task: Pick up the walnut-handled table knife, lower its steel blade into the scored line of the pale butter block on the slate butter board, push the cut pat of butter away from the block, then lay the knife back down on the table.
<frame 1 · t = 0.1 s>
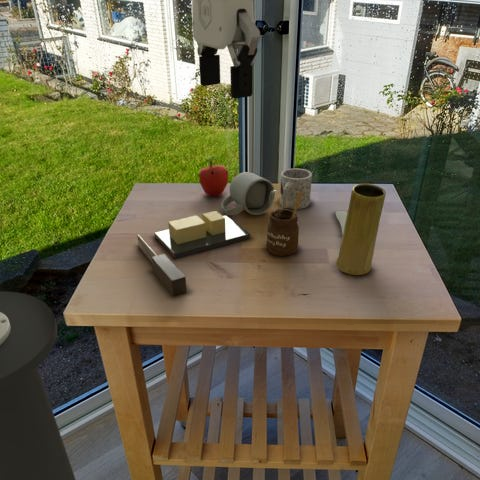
hand: (225, 90, 73), 29 cm above the table, tool pointing down, fingers open, 9 cm apart
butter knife: (346, 238, 97), on the table, touching vase
apple: (215, 195, 115), on the table
vase: (353, 267, 87), on the table, touching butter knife
mug: (291, 206, 110), on the table
utensil holder: (282, 250, 93), on the table
ceramic mug: (246, 211, 108), on the table
table knife: (169, 281, 84), on the table
butter board: (202, 237, 97), on the table
butter pat: (214, 230, 98), point 1 cm above the table, touching butter board
butter block: (188, 236, 96), resting on butter board
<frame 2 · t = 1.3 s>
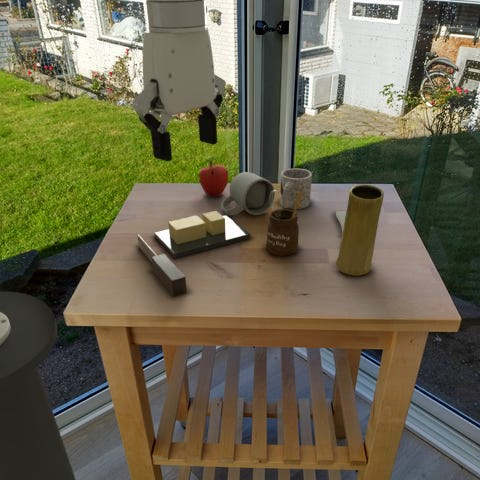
hand: (186, 150, 74), 21 cm above the table, tool pointing down, fingers open, 9 cm apart
nothing on the table moved.
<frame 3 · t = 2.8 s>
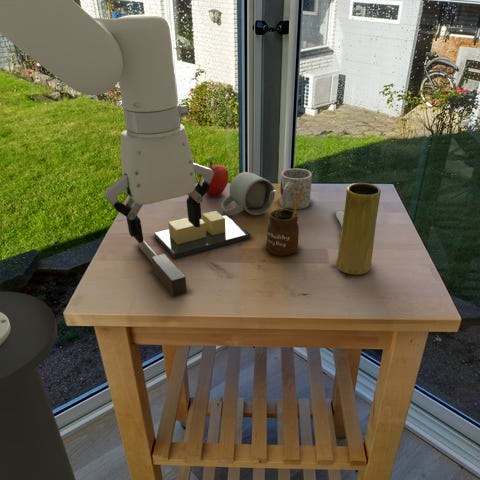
hand: (166, 231, 79), 9 cm above the table, tool pointing down, fingers open, 9 cm apart
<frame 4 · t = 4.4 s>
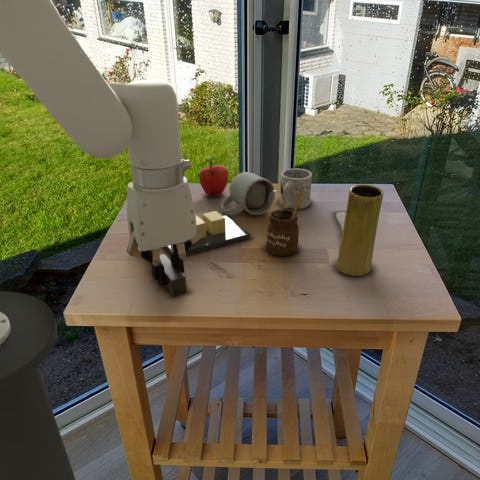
hand: (169, 279, 84), 1 cm above the table, tool pointing down, fingers closed on table knife, 2 cm apart
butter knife: (347, 240, 97), on the table
vase: (353, 268, 88), on the table
table knife: (169, 281, 84), on the table, touching gripper
everything else where it was.
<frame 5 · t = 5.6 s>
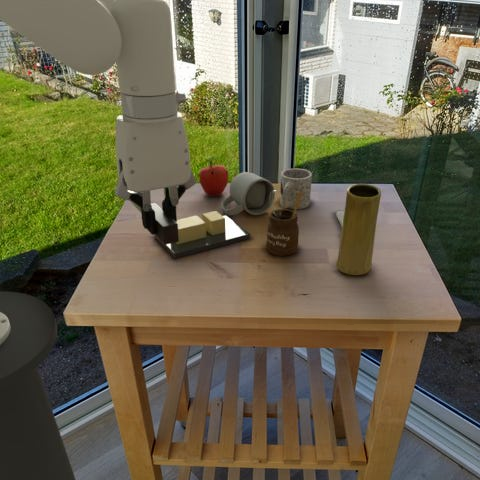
hand: (160, 228, 78), 10 cm above the table, tool pointing down, fingers closed on table knife, 2 cm apart
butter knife: (347, 238, 97), on the table, touching vase
vase: (353, 267, 87), on the table, touching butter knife
table knife: (160, 231, 78), point 9 cm above the table, touching gripper
everything else where it was.
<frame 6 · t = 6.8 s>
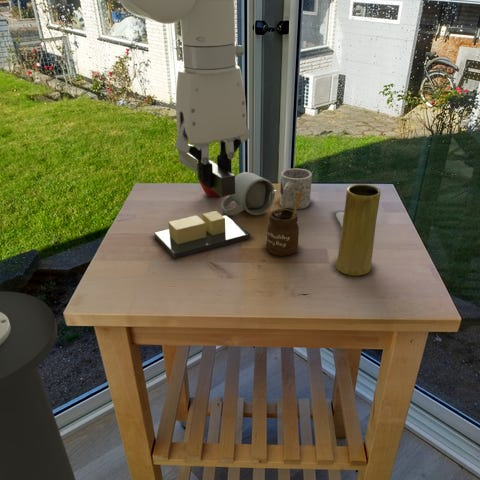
hand: (215, 182, 81), 15 cm above the table, tool pointing down, fingers closed on table knife, 2 cm apart
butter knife: (347, 239, 97), on the table
vase: (353, 268, 88), on the table
table knife: (216, 186, 81), point 14 cm above the table, touching gripper
everything else where it was.
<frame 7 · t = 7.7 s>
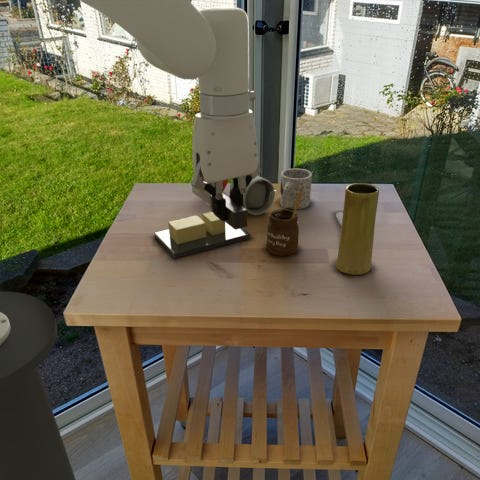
hand: (228, 215, 86), 8 cm above the table, tool pointing down, fingers closed on table knife, 2 cm apart
vase: (353, 268, 88), on the table
table knife: (228, 218, 86), point 8 cm above the table, touching gripper
everything else where it was.
when the fingers open (1 cm above the table, at t = 16.4 s): table knife stays where it is, on the table.
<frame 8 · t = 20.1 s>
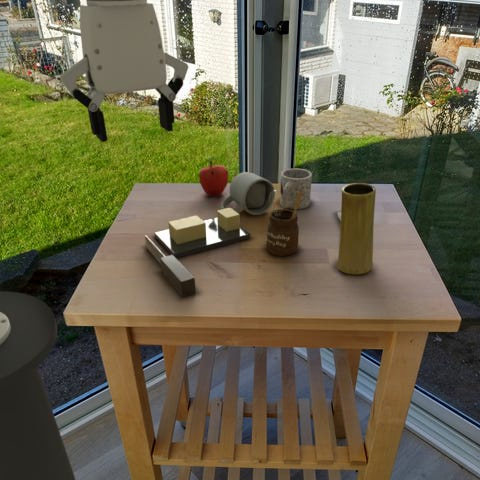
hand: (135, 134, 70), 24 cm above the table, tool pointing down, fingers open, 9 cm apart
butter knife: (349, 239, 97), on the table, touching vase
vase: (354, 267, 88), on the table, touching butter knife
table knife: (178, 282, 84), on the table
butter pat: (228, 226, 99), point 1 cm above the table, touching butter board
everything else where it was.
at the end: butter pat 0.2 cm from the target spot on the butter board, point 1.0 cm above the butter board's base; butter pat touching butter board; the gripper is holding nothing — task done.
